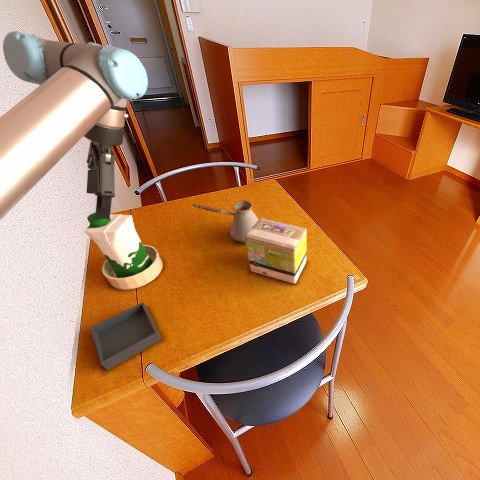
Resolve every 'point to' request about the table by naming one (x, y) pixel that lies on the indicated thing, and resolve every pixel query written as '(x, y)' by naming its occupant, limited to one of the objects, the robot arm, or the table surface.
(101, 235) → the milk carton
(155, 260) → the bowl
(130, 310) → the tray
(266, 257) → the tea box
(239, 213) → the coffee pot
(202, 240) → the table surface
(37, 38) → the robot arm
